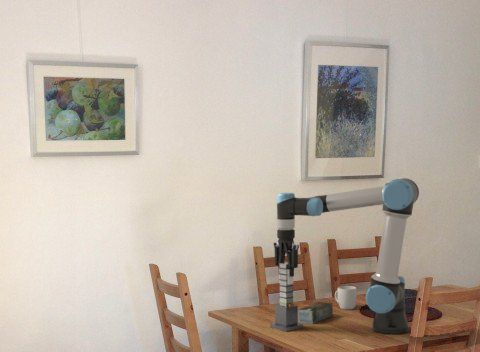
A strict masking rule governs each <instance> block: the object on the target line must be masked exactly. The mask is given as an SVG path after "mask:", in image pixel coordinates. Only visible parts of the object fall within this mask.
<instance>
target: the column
mask: <svg viewBox="0 0 480 352" xmlns="http://www.w3.org/2000/svg"><path fill="white" fill-rule="evenodd" d="M291 266H292V265H291ZM288 268H289V266H288V261H284V263H280V267H278V270H279V269H280V273H279V272H278V275H279V274H280V279H278V280H280V283H279V302H278V303H279V304H278V305H280V306H283V307H288V304H291V303H293V304H294V283H293V284H289V285H288V284H287V269H288Z"/></svg>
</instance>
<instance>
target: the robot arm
mask: <svg viewBox="0 0 480 352" xmlns="http://www.w3.org/2000/svg"><path fill="white" fill-rule="evenodd" d="M419 195H420V189H419V187H418V184H417V183H416V182H415V181H413V180H412V179H410V178H405V177H404V178H396V179H392V180H390V181H389V182H386V183H384V185H382V186H376V187H369V188H365V189H364V188H363V189H356V190H348V191H343V192H337V193H329V194H324V195H323V194H322V195H316V196H311V197H296V196H295V193H293V192H279V193H278V194H277V197H276V228H277V229H276V231H277V233H276V236H277V239H278V240H277V242H273V249H274V265H275V266H276V267H277V268H278V276H279V277H278V278H279V279H280V274H279V273H280V269H279V267H280V263H285V259H287V263H288V266H289V268H288V269H287V284H288V285H289V284H293V285H294V276H295V269H297V268H299V263H298V262H299V259H298V258H299V248H300V246H299V244H296V243H295V240H294V239H295V238H296V236H295V235H296V232H295V231H296V230H295V228H296V227H295V225H296V224H295V223H296V219H295V218H296V217H295V216H305V217H306V216H307V217H308V216H309V217H320V216H322V214H325V213H331V212H337V211H344V210H352V209H359V208H366V207H375V206H380V205H381V206H382V210H381V211H382V212H383V214H384V221H383V227H382V233H381V239H380V246H379V252H378V258H377V264H376V271H375V273H374V274H372V275H371V277H370V283H369V288H367V291H366V294H365V303H366V305H367V307H369V309H370V310H371V311H373V312H374V313H375V314H374V317H373V321H372V324H371V325H372V328H371V329H372V331H374V332H377V333H381V334H389V335H391V334H392V335H398V334H400V335H401V334H406V333H408V332H409V331H410V325H409V323H408V320H407V315H406V310H405V309H406V308H405V300H406V299H405V297H406V296H405V295H406V293H405V292H406V291H405V290H406V288H405V287H406V283H405V278H404V276H401V275H398V274H399V269H400V263H401V257H402V251H403V246H404V245H403V244H404V239H405V232H406V227H407V223H408V222H407V220H408V218H410V217H411V216H412V215H413V208H414V204H415V203H416V201H418V199H419ZM286 257H287V258H286ZM291 265H292V266H291ZM279 279H278V280H279ZM278 282H279V284H280V280H279V281H278Z"/></svg>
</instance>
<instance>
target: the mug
mask: <svg viewBox="0 0 480 352" xmlns="http://www.w3.org/2000/svg"><path fill="white" fill-rule="evenodd" d="M357 290H358V289H357V287H355V286H352V285H350V286H349V285H341V286H340V285H339V286H338V287H337V290H336V291H335V293H334V298H335V299H334V300H335V301H336V302H337V303H338V306H339V307H340V309H342V310H354V309H355V307H356V304H357V296H358V295H357V292H358V291H357Z"/></svg>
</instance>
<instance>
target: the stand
mask: <svg viewBox="0 0 480 352" xmlns="http://www.w3.org/2000/svg"><path fill="white" fill-rule="evenodd" d="M298 310H299V306H298V305H297V304H296V305H295V303H294V302H293V303H291V304H288V307H283V306H280V304H276V305H275V306H274V311H275V312H274V317H275V318H274V322H273V323H272V322H271V323H269V328H271V329H274V328H275V330H279V331H281V332H291V331H294V330H295V329H296V330H300V329H303V328H304V324H303V323H301V322H299V319H298ZM296 330H295V331H296Z"/></svg>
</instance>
